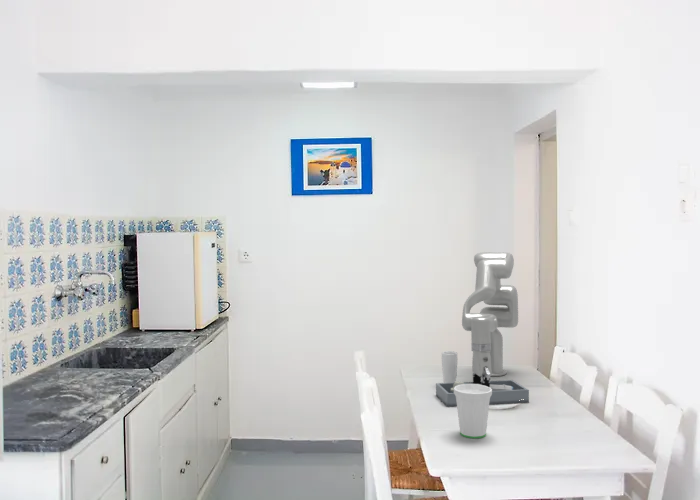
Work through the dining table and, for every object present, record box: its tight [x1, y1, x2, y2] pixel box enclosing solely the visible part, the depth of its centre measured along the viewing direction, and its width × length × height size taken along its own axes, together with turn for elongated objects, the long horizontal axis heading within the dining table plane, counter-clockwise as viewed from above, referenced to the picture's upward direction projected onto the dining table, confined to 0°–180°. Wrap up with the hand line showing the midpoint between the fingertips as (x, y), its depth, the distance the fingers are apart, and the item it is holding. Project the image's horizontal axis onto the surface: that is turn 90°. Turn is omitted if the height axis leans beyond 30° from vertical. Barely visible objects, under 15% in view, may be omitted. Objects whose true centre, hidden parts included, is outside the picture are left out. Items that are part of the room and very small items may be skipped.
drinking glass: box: [441, 350, 458, 383], centre depth 255 cm, size 7×7×15 cm
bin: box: [435, 379, 530, 408], centre depth 236 cm, size 16×33×5 cm, turn 97°
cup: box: [454, 384, 492, 439], centre depth 195 cm, size 12×12×15 cm
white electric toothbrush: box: [450, 380, 514, 393], centre depth 236 cm, size 5×7×25 cm
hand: (481, 389), depth 236 cm, fingers open, 9 cm apart
